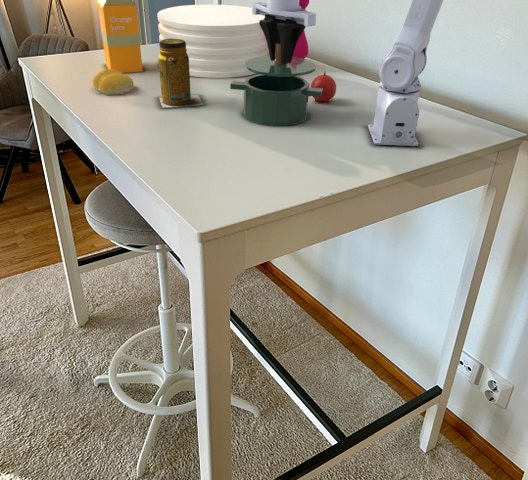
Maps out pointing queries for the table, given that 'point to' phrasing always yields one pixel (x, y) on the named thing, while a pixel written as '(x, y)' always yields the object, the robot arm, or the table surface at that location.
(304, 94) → the pot
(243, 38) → the plate stack
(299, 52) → the pepper mill
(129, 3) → the orange juice
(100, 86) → the bread roll
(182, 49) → the condiment
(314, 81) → the apple
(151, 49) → the table surface
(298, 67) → the lid
